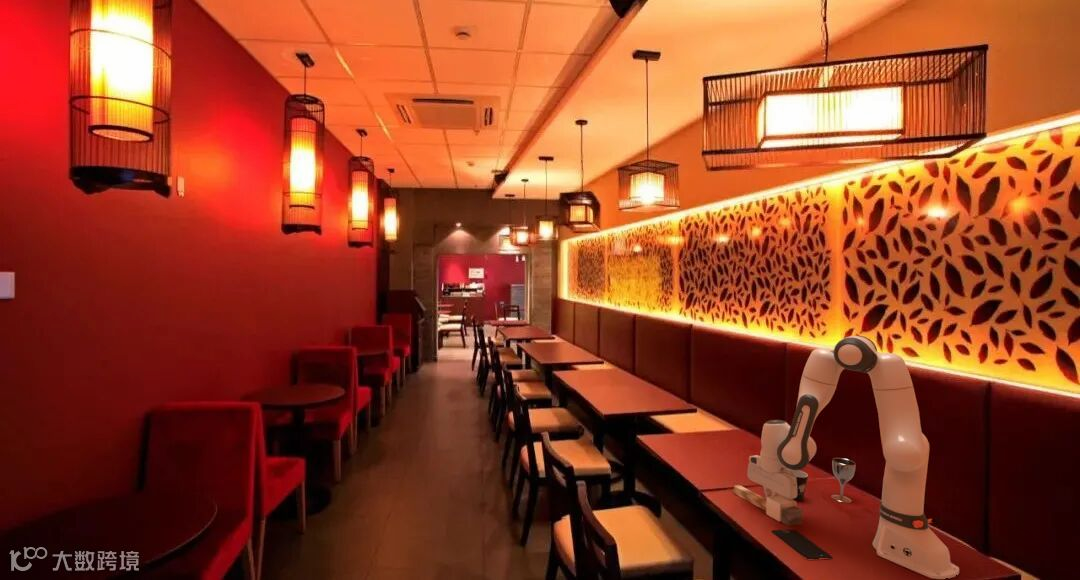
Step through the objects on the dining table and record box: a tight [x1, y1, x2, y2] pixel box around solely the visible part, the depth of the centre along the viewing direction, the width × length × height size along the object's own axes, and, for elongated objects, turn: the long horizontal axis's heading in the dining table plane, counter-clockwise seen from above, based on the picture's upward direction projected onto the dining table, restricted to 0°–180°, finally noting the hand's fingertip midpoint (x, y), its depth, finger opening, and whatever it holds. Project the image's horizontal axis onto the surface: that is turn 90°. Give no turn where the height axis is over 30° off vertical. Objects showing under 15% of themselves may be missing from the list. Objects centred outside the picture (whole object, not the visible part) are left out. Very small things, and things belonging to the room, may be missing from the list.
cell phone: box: [771, 528, 833, 560], centre depth 170 cm, size 9×18×1 cm, turn 11°
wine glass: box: [830, 457, 856, 504], centre depth 209 cm, size 8×8×15 cm
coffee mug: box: [786, 468, 809, 503], centre depth 207 cm, size 12×9×10 cm
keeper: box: [765, 494, 798, 523], centre depth 189 cm, size 6×8×6 cm
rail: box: [733, 484, 803, 527], centre depth 196 cm, size 28×6×5 cm, turn 23°
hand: (770, 500), depth 194 cm, fingers closed
